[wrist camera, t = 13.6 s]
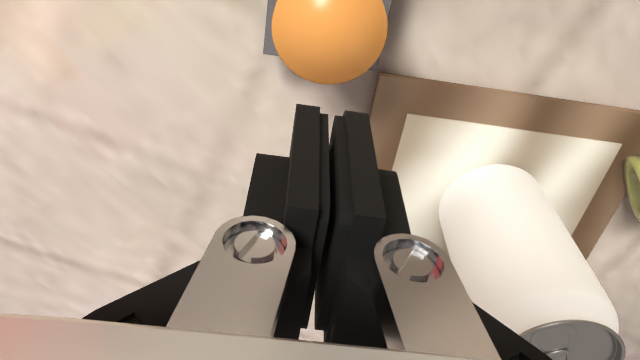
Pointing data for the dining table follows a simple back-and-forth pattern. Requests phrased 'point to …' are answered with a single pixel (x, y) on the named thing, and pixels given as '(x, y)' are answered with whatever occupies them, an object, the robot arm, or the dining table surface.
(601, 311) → the can
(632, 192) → the cannon
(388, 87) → the sketch board
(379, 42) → the button
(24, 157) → the dining table surface
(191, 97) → the dining table surface
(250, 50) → the dining table surface
